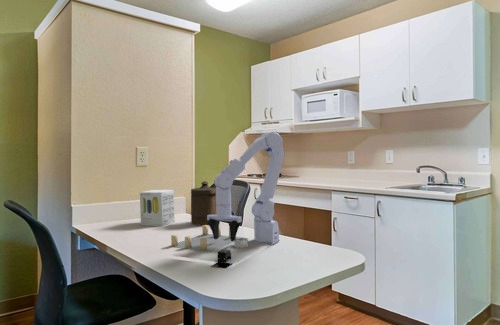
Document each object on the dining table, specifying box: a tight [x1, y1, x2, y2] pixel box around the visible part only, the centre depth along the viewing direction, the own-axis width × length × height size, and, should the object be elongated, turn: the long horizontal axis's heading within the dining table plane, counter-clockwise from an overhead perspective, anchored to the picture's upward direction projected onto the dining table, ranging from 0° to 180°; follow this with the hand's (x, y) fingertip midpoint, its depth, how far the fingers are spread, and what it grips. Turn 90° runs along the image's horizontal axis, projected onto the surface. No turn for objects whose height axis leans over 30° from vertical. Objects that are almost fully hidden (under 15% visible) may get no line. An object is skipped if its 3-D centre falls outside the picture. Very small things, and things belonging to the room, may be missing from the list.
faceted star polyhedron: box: [233, 237, 249, 249], centre depth 131 cm, size 6×5×4 cm
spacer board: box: [167, 225, 244, 253], centre depth 139 cm, size 20×24×5 cm
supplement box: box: [139, 189, 176, 227], centre depth 187 cm, size 13×13×18 cm
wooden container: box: [190, 180, 217, 226], centre depth 185 cm, size 15×15×22 cm
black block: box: [210, 248, 233, 269], centre depth 114 cm, size 12×7×5 cm, turn 158°
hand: (224, 239), depth 135 cm, fingers open, 7 cm apart
